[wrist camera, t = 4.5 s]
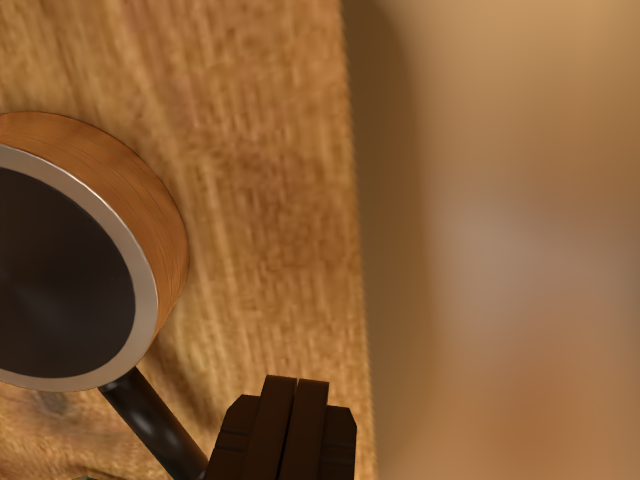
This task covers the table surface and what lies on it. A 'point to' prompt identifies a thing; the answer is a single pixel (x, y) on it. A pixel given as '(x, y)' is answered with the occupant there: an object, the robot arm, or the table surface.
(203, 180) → the table surface
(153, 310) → the pan
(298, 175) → the table surface
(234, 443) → the robot arm
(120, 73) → the table surface
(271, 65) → the table surface
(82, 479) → the sunglasses
